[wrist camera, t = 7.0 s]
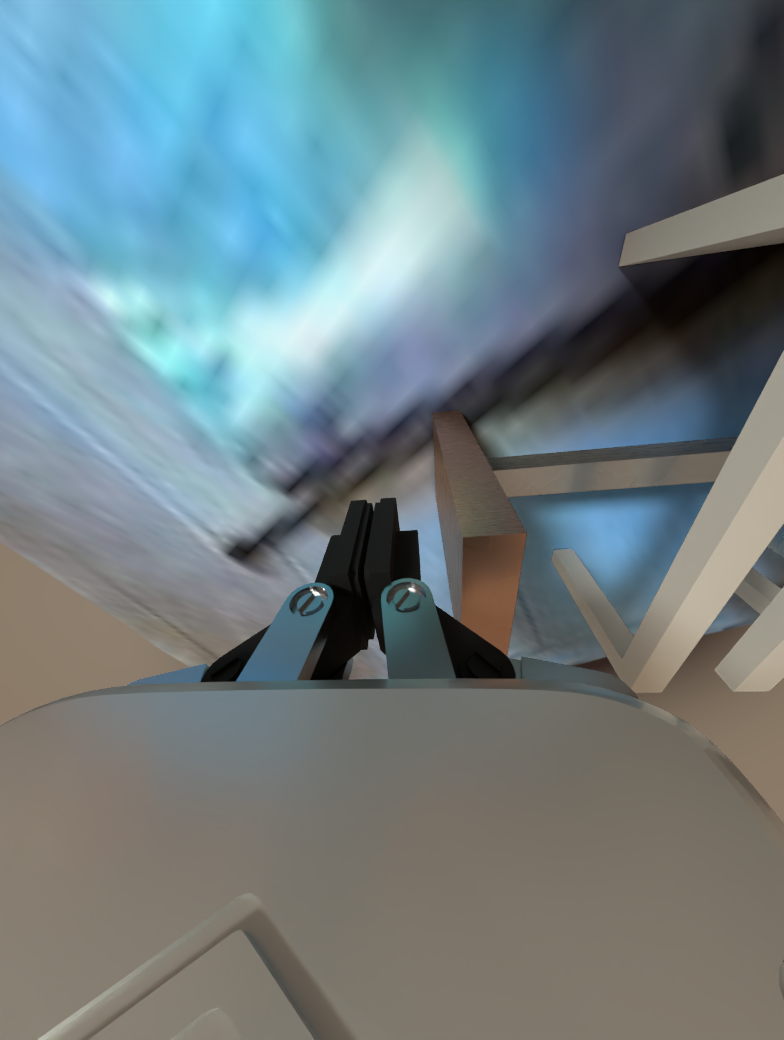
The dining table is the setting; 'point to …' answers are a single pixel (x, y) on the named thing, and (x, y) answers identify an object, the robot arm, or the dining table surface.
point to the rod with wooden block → (488, 482)
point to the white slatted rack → (709, 496)
